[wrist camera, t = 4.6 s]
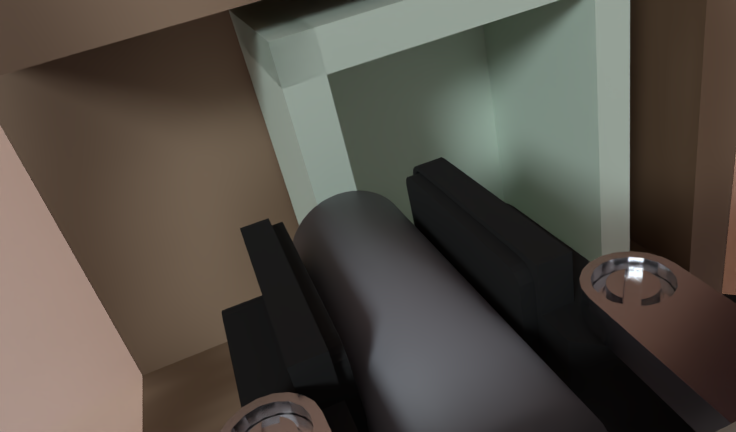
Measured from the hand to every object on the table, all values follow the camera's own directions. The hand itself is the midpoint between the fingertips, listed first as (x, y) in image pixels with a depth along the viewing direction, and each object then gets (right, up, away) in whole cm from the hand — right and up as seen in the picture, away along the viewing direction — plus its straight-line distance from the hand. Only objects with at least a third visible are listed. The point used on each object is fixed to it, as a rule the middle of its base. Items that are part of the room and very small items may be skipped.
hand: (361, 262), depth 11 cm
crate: (+1, +3, +5) cm, 6 cm away
